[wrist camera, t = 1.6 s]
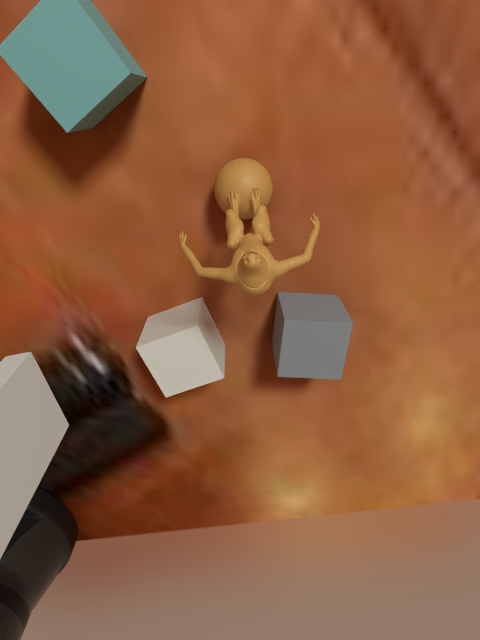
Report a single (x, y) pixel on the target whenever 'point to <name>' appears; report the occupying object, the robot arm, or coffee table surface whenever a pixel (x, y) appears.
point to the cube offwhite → (182, 348)
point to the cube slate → (310, 335)
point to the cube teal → (72, 62)
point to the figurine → (251, 254)
